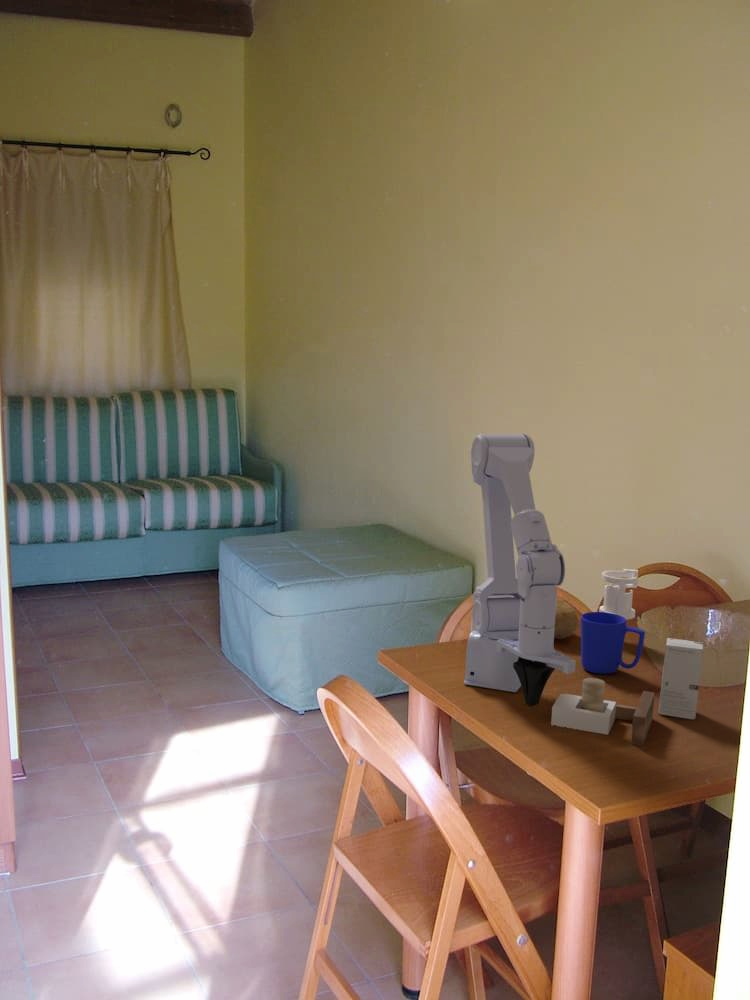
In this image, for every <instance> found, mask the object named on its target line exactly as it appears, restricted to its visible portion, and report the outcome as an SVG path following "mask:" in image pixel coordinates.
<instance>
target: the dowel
mask: <svg viewBox="0 0 750 1000" xmlns="http://www.w3.org/2000/svg"><path fill="white" fill-rule="evenodd" d="M605 684H606V683H605V681H604V680H603V679H601V678H597V677H596V678H595V677H588V678H583V680H582V694H581V696H582V704H581V709H583V710H589V711H596V712H602V713H603V701H604V700H605V699H604V697H605V686H606V685H605Z"/></svg>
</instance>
